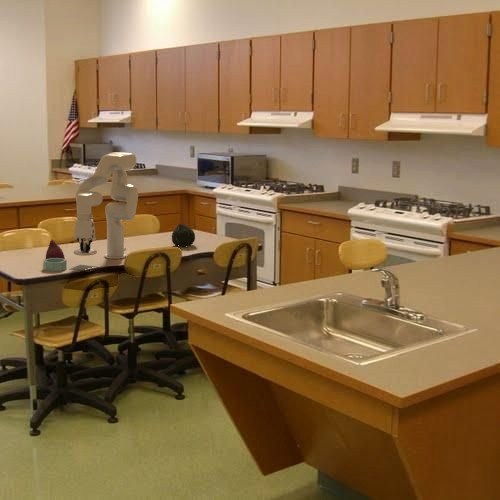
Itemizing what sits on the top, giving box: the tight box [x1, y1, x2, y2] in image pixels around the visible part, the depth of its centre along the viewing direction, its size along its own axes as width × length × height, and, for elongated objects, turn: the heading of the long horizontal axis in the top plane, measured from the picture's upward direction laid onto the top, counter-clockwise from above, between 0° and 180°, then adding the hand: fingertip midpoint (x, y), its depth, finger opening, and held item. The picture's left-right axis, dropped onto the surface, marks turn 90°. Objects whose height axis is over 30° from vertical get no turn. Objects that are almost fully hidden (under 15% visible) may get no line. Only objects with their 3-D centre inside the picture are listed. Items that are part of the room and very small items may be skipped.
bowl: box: [42, 258, 67, 273], centre depth 385 cm, size 11×11×5 cm
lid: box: [73, 241, 98, 257], centre depth 388 cm, size 12×12×6 cm
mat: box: [68, 264, 97, 273], centre depth 389 cm, size 12×12×1 cm
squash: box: [171, 223, 196, 247], centre depth 459 cm, size 14×15×15 cm
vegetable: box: [45, 239, 66, 260], centre depth 399 cm, size 10×10×15 cm
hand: (85, 250), depth 388 cm, fingers closed on lid, 2 cm apart
